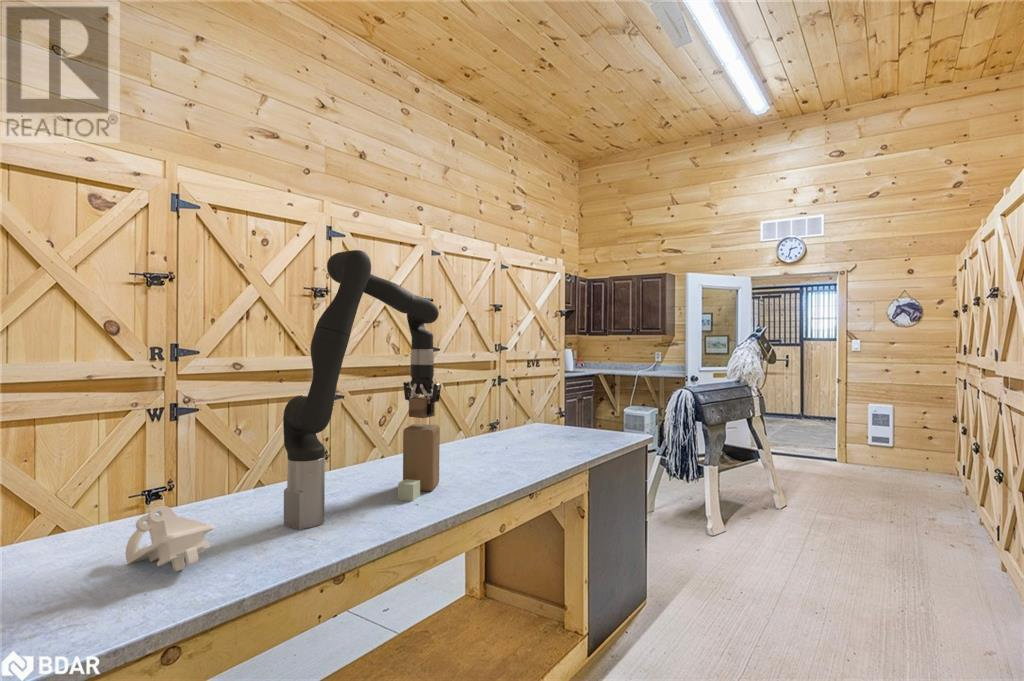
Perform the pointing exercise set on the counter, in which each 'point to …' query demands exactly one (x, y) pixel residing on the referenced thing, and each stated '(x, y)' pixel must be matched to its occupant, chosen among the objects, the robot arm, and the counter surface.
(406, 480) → the sage cube
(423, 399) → the walnut cube
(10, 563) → the counter surface
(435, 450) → the wooden block
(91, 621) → the counter surface
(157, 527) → the beige angular piece
